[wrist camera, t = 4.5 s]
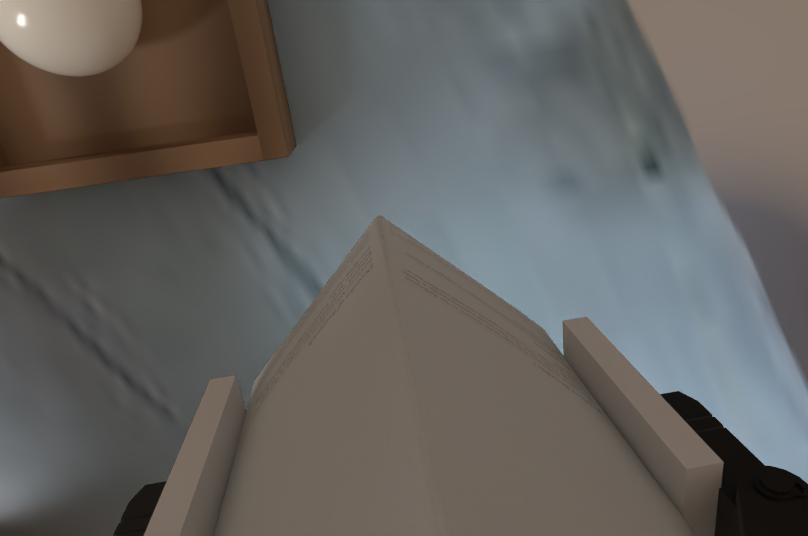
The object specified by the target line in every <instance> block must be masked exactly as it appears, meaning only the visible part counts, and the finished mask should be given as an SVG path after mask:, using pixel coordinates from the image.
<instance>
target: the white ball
mask: <svg viewBox="0 0 808 536" xmlns="http://www.w3.org/2000/svg"><path fill="white" fill-rule="evenodd" d="M141 26H142V3H141V0H0V41H1V43H2V44H3V45H4V46H6V47H7V48H8V49H9V50H10V51H11V52H13V53H14V54H15V55H17V56H18V57H19V58H21V59H22V60H24V61H26V62H27V63H29V64H31V65H33V66H35V67H37V68H39V69H42V70H45V71H48V72H51V73H54V74H58V75H64V76H77V77H81V76H90V75H95V74H99V73H102V72H105V71H108V70H110V69H111V68H113V67H115V66H116V65H118V64H119V63H120V62H122V61H123V60H124V59H125V58H126V57H127V56H128V55H129V54H130V53H131V51H132V50H133V48H134V47H135V44H136V42H137V40H138V38H139V34H140V31H141Z"/></svg>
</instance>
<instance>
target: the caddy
mask: <svg viewBox="0 0 808 536" xmlns="http://www.w3.org/2000/svg"><path fill="white" fill-rule="evenodd" d="M141 3H142V26H141V31H140V34H139V38H138V40H137V42H136V44H135V47H134V48H133V50H132V51H131V53H130V54H129V55H128V56H127V57H126V58H125V59H124V60H123V61H122V62H120V63H119V64H118V65H116V66H115V67H113V68H111V69H110V70H108V71H105V72H102V73H99V74H95V75H90V76H81V77H77V76H64V75H58V74H54V73H51V72H48V71H45V70H42V69H39V68H37V67H35V66H33V65H31V64H29V63H27V62H26V61H24V60H22V59H21V58H19V57H18V56H17V55H15V54H14V53H13V52H11V51H10V50H9V49H8V48H7V47H6V46H4V45H3V44H2V43H1V41H0V198H6V197H13V196H20V195H27V194H34V193H41V192H48V191H55V190H62V189H69V188H76V187H83V186H90V185H97V184H104V183H111V182H118V181H124V180H131V179H138V178H145V177H152V176H159V175H166V174H173V173H180V172H187V171H194V170H201V169H208V168H215V167H222V166H229V165H236V164H243V163H249V162H256V161H263V160H270V159H277V158H284V157H289V155H290V154H291V152H292V151H293V150H294V148H295V147H296V141H295V136H294V131H293V126H292V121H291V116H290V111H289V106H288V101H287V96H286V91H285V86H284V81H283V76H282V71H281V66H280V61H279V56H278V51H277V47H276V42H275V37H274V32H273V27H272V22H271V17H270V12H269V7H268V2H267V0H141Z"/></svg>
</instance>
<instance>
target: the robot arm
mask: <svg viewBox="0 0 808 536" xmlns="http://www.w3.org/2000/svg"><path fill="white" fill-rule="evenodd" d="M563 348H564V358H565V359H566V360H567V362H568V363H569V365H570V366H571V367H572V369H573V370H574V372H575V373H576V374H577V376H578V377H579V378H580V380H581V381H582V382H583V384H584V385H585V386H586V388H587V389H588V390H589V392H590V393H591V394H592V396H593V397H594V398H595V400H596V401H597V402H598V404H599V405H600V406H601V408H602V409H603V410H604V412H605V413H606V415H607V416H608V417H609V419H610V420H611V421H612V423H613V424H614V425H615V427H616V428H617V429H618V431H619V432H620V433H621V435H622V436H623V437H624V439H625V440H626V441H627V443H628V444H629V445H630V447H631V448H632V449H633V451H634V452H635V453H636V455H637V456H638V457H639V459H640V460H641V461H642V463H643V464H644V465H645V467H646V468H647V469H648V471H649V472H650V473H651V475H652V476H653V478H654V479H655V480H656V482H657V483H658V484H659V486H660V487H661V488H662V490H663V491H664V492H665V494H666V495H667V496H668V498H669V499H670V500H671V502H672V503H673V504H674V505H675V507H676V508H677V509H678V511H679V512H680V513H681V515H682V516H683V517H684V519H685V520H686V521H687V523H688V524H689V525H690V527H691V528H692V529H693V531H694V532H695V533H696V535H697V536H808V484H807V483H806V482H805V481H803V480H802V479H801V478H800V477H798V476H796V475H794V474H792V473H790V472H788V471H786V470H784V469H780V468H776V467H772V466H765V465H764V464H763V463H762V462H761V461H760V460H758V459H757V458H756V457H755V456H754V455H753V454H752V453H751V452H750V451H749V450H748V449H747V448H746V447H745V446H744V445H743V444H742V443H741V442H740V441H739V440H738V439H737V438H736V437H735V436H734V435H733V434H732V433H731V432H729V431H728V430H727V429H726V428H724V427H723V425H722V424H721V423H720V422H719V421H718V420H717V419H716V418H715V417H712V414H711V413H710V412H709V411H708V410H707V409H706V408H705V407H704V406H703V405H701V404H700V403H699V402H698V401H697V400H695V399H693V398H691V397H689V396H687V395H685V394H683V393H681V392H679V391H677V392H671V393H665V394H659V393H658V392H657V391H656V390H655V389H654V388H653V387H652V386H651V385H650V384H649V382H648V381H647V380H646V379H645V378H644V377H643V376H642V375H641V374H640V373H639V372H638V371H637V370H636V369H635V368H634V367H633V365H632V364H631V363H630V362H629V361H628V360H627V359H626V358H625V357H624V356H623V355H622V354H621V353H620V352H619V351H618V350H617V348H616V347H615V346H614V345H613V344H612V343H611V342H610V341H609V340H608V339H607V338H606V337H605V336H604V335H603V334H602V333H601V332H600V330H599V329H598V328H597V327H596V326H595V325H594V324H593V323H592V322H591V321H590V320H589V319H588V318H587V317H583V318H577V319H571V320H565V321H563ZM245 414H246V410H245V406H244V403H243V399H242V396H241V392H240V389H239V385H238V381H237V378H236V375H233V376H227V377H221V378H215V379H210V381H209V383H208V386H207V388H206V390H205V393H204V395H203V397H202V400H201V402H200V404H199V407H198V409H197V411H196V414H195V416H194V418H193V421H192V423H191V425H190V428H189V430H188V433H187V435H186V437H185V440H184V442H183V444H182V447H181V449H180V451H179V454H178V456H177V458H176V461H175V463H174V465H173V468H172V470H171V472H170V475H169V477H168V480H167V481H166V482H160V483H154V484H148V485H145V486H144V487H143V488H142V489H141V490H140V491H139V492H138V493H137V494H136V495H135V497H134V498H133V499H132V500H131V501H130V502H129V504H128V506H127V508H126V510H125V512H124V514H123V516H122V518H121V523H119V524H118V526H117V528H116V530H115V532H114V534H113V535H114V536H213V535H214V532H215V528H216V524H217V520H218V516H219V512H220V509H221V505H222V501H223V497H224V494H225V490H226V486H227V482H228V479H229V475H230V471H231V468H232V464H233V459H234V455H235V452H236V448H237V444H238V440H239V437H240V433H241V429H242V426H243V422H244V418H245Z"/></svg>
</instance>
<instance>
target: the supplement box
mask: <svg viewBox="0 0 808 536" xmlns="http://www.w3.org/2000/svg"><path fill="white" fill-rule="evenodd" d="M213 536H697V535H696V533H695V532H694V531H693V529H692V528H691V527H690V525H689V524H688V523H687V521H686V520H685V519H684V517H683V516H682V515H681V513H680V512H679V511H678V509H677V508H676V507H675V505H674V504H673V503H672V502H671V500H670V499H669V498H668V496H667V495H666V494H665V492H664V491H663V490H662V488H661V487H660V486H659V484H658V483H657V482H656V480H655V479H654V478H653V476H652V475H651V473H650V472H649V471H648V469H647V468H646V467H645V465H644V464H643V463H642V461H641V460H640V459H639V457H638V456H637V455H636V453H635V452H634V451H633V449H632V448H631V447H630V445H629V444H628V443H627V441H626V440H625V439H624V437H623V436H622V435H621V433H620V432H619V431H618V429H617V428H616V427H615V425H614V424H613V423H612V421H611V420H610V419H609V417H608V416H607V415H606V413H605V412H604V410H603V409H602V408H601V406H600V405H599V404H598V402H597V401H596V400H595V398H594V397H593V396H592V394H591V393H590V392H589V390H588V389H587V388H586V386H585V385H584V384H583V382H582V381H581V380H580V378H579V377H578V376H577V374H576V373H575V372H574V370H573V369H572V367H571V366H570V365H569V363H568V362H567V360H566V359H565V358H564V356H563V355H562V353H561V352H560V351H559V349H558V348H557V346H556V345H555V344H554V342H553V341H552V340H551V338H550V337H549V336H548V334H547V333H546V331H545V330H544V329H543V328H542V327H540V326H539V325H538V324H536V323H535V322H534V321H532V320H531V319H529V318H528V317H527V316H525V315H524V314H523V313H521V312H520V311H519V310H517V309H516V308H514V307H513V306H511V305H510V304H509V303H507V302H506V301H504V300H503V299H501V298H500V297H499V296H497V295H496V294H494V293H493V292H491V291H490V290H489V289H487V288H486V287H484V286H483V285H481V284H480V283H478V282H477V281H475V280H474V279H472V278H471V277H470V276H468V275H467V274H465V273H464V272H462V271H461V270H459V269H458V268H456V267H455V266H454V265H452V264H451V263H449V262H448V261H446V260H445V259H443V258H442V257H440V256H439V255H437V254H436V253H435V252H433V251H432V250H430V249H429V248H427V247H426V246H424V245H423V244H421V243H420V242H418V241H417V240H416V239H414V238H413V237H411V236H410V235H408V234H407V233H405V232H404V231H402V230H401V229H399V228H398V227H396V226H395V225H394V224H392V223H391V222H389V221H388V220H386V219H385V218H384V217H382V216H377V217H376V218H375V219H374V221H373V222H372V223H371V225H370V226H369V227H368V229H367V230H366V231H365V233H364V234H363V235H362V237H361V238H360V239H359V241H358V242H357V243H356V245H355V246H354V247H353V249H352V250H351V252H350V253H349V254H348V255H347V257H346V258H345V260H344V261H343V262H342V264H341V265H340V266H339V268H338V269H337V271H336V272H335V273H334V274H333V276H332V277H331V278H330V279H329V281H328V282H327V283H326V285H325V286H324V288H323V289H322V291H321V292H320V293H319V295H318V296H317V297H316V299H315V300H314V301H313V303H312V304H311V305H310V307H309V308H308V309H307V311H306V312H305V313H304V315H303V316H302V317H301V319H300V320H299V321H298V323H297V324H296V325H295V327H294V328H293V329H292V331H291V332H290V333H289V335H288V336H287V337H286V339H285V340H284V341H283V343H282V344H281V345H280V347H279V348H278V349H277V351H276V352H275V353H274V355H273V356H272V357H271V359H270V360H269V361H268V363H267V364H266V365H265V367H264V368H263V369H262V371H261V372H260V374H259V375H258V376H257V378H256V379H255V381H254V384H253V387H252V390H251V394H250V399H249V403H248V407H247V410H246V414H245V418H244V422H243V426H242V429H241V433H240V437H239V440H238V444H237V448H236V452H235V455H234V459H233V464H232V468H231V471H230V475H229V479H228V482H227V486H226V490H225V494H224V497H223V501H222V505H221V509H220V512H219V516H218V520H217V524H216V528H215V532H214V535H213Z"/></svg>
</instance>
